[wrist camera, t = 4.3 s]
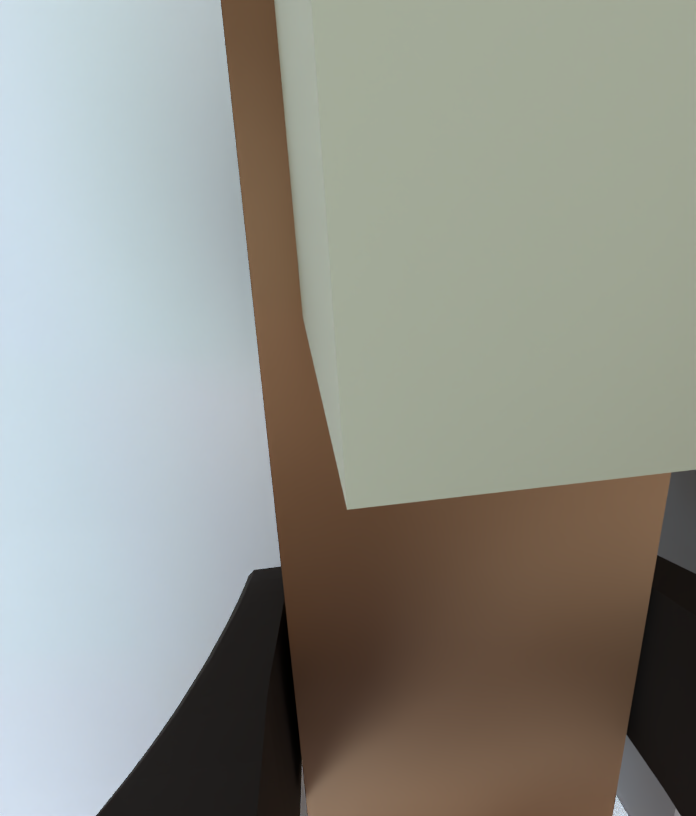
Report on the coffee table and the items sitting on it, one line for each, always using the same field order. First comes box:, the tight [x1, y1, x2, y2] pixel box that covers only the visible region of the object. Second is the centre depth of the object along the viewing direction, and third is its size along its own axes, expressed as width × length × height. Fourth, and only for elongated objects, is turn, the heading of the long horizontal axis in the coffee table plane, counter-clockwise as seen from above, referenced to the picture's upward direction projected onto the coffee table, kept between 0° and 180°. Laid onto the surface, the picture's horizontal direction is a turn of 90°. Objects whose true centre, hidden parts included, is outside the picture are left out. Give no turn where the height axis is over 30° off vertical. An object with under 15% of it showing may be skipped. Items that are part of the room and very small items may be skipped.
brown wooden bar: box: [221, 0, 671, 816], centre depth 9 cm, size 24×5×4 cm, turn 3°
